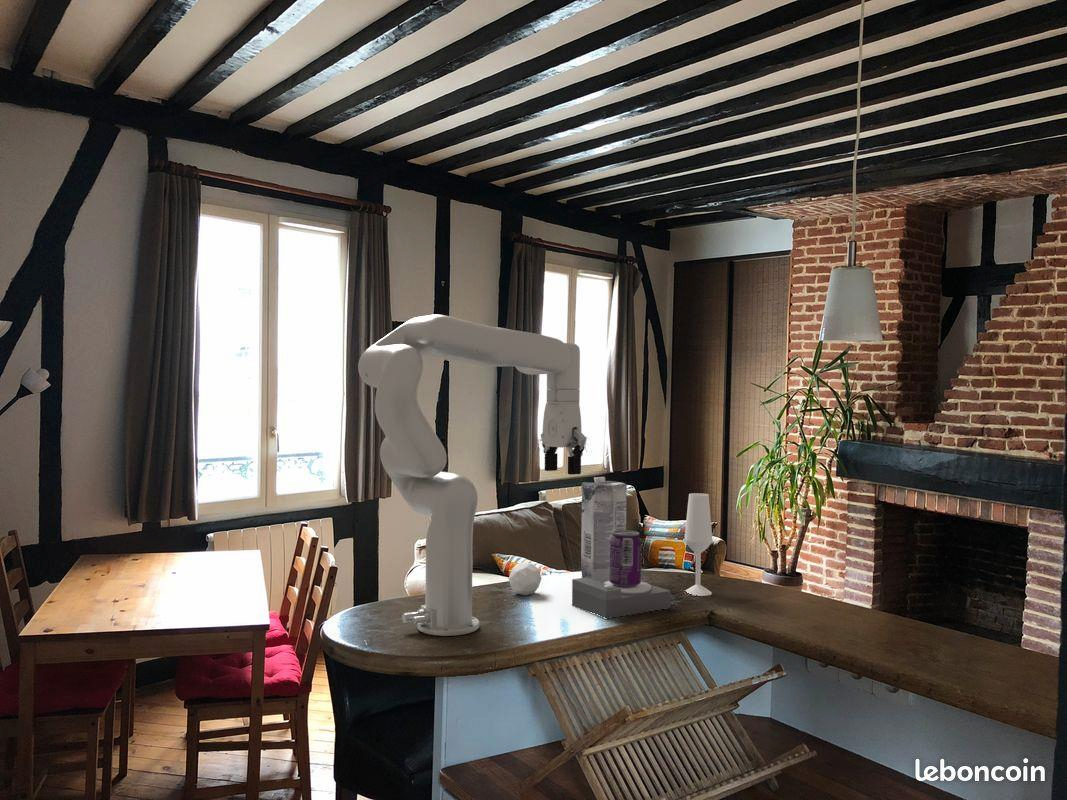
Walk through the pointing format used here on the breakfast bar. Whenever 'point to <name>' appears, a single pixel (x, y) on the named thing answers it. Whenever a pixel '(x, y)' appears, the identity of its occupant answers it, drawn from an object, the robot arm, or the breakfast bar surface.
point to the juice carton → (600, 525)
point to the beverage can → (625, 558)
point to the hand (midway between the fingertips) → (562, 472)
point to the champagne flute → (698, 534)
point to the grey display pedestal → (617, 598)
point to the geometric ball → (525, 578)
